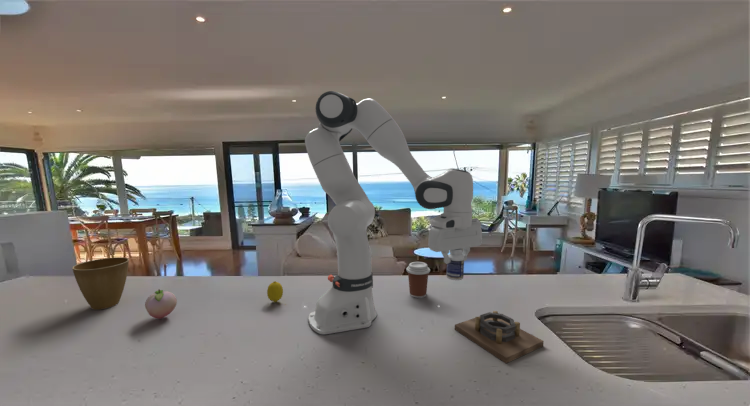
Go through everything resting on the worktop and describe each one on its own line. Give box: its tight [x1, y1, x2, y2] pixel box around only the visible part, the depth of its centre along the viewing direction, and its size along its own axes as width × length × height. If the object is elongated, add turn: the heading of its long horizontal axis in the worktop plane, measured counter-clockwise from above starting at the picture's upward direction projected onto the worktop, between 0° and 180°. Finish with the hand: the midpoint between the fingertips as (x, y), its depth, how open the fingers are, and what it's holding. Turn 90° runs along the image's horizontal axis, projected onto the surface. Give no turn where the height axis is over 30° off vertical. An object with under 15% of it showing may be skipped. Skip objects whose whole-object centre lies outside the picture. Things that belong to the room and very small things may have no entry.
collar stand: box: [454, 310, 544, 364], centre depth 83 cm, size 15×18×5 cm
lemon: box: [266, 281, 284, 303], centre depth 107 cm, size 6×6×8 cm
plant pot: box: [71, 256, 130, 311], centre depth 106 cm, size 15×15×16 cm
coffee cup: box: [405, 261, 431, 299], centre depth 113 cm, size 9×9×12 cm
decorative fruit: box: [144, 289, 178, 320], centre depth 96 cm, size 9×8×10 cm
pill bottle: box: [446, 248, 465, 281], centre depth 95 cm, size 5×5×10 cm
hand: (455, 261), depth 95 cm, fingers closed on pill bottle, 5 cm apart
